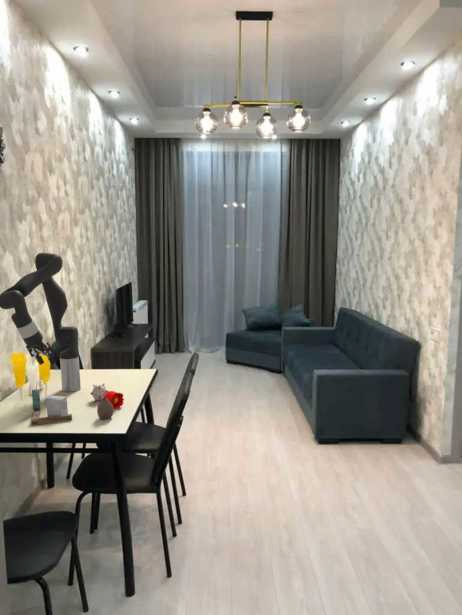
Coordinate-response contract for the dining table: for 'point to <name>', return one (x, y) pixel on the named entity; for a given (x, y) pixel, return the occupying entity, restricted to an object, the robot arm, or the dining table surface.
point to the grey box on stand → (37, 411)
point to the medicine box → (56, 406)
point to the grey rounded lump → (105, 409)
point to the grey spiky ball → (99, 392)
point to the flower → (114, 398)
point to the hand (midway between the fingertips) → (48, 363)
